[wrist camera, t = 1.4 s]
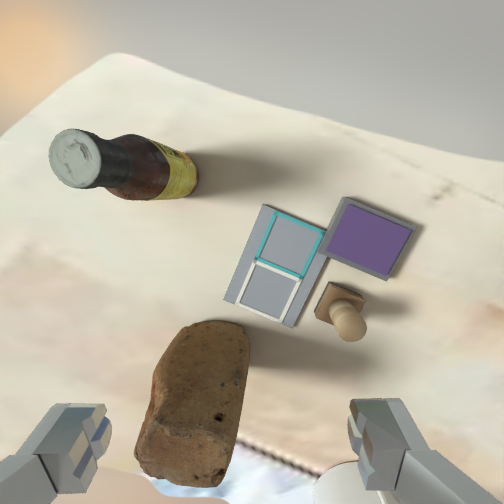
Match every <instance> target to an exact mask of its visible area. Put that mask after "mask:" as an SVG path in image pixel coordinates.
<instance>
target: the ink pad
mask: <svg viewBox="0 0 504 504" xmlns="http://www.w3.org/2000/svg"><path fill="white" fill-rule="evenodd" d="M416 228H417V227H415V226H413V225H411V224H408V223H406V222H404V221H401V220H399V219H396V218H394V217H392V216H389V215H387V214H385V213H382V212H380V211H378V210H375V209H373V208H370V207H368V206H366V205H363V204H361V203H359V202H356V201H354V200H352V199H349V198H347V197H342V198H341V201H340V203H339V205H338V207H337V209H336V211H335V213H334V215H333V217H332V219H331V222H330V224H329V226H328V228H327V230H326V231H327V233H326V235H325V237H324V239H323V241H322V243H321V246H320V248H319V250H318V253H320V254H323V255H325V256H327V257H330V258H332V259H334V260H337V261H339V262H342V263H344V264H346V265H349V266H351V267H353V268H356V269H358V270H361V271H363V272H365V273H368V274H370V275H373V276H375V277H377V278H380V279H382V280H384V281H387V280H388V278H389V277H390V275H391V273H392V271H393V269H394V268H395V266H396V264H397V262H398V260H399V259H400V257H401V255H402V253H403V251H404V250H405V248H406V246H407V244H408V242H409V240H410V239H411V237H412V235H413V233H414V231H415V230H416Z"/></svg>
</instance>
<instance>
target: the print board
mask: <svg viewBox="0 0 504 504" xmlns="http://www.w3.org/2000/svg"><path fill="white" fill-rule="evenodd" d="M326 233H327V231H325V230H323V229H321V228H318V227H316V226H313V225H311V224H309V223H306V222H304V221H302V220H299V219H297V218H294V217H292V216H290V215H287V214H285V213H283V212H280V211H278V210H275V209H273V208H271V207H268V206H266V205H264V204H263V205H262V208H261V210H260V212H259V215H258V217H257V220H256V222H255V224H254V227H253V229H252V232H251V234H250V236H249V239H248V241H247V244H246V246H245V249H244V251H243V253H242V256H241V258H240V261H239V263H238V265H237V268H236V270H235V273H234V275H233V278H232V280H231V282H230V285H229V287H228V290H227V292H226V294H225V297H224V299H223V300H225V301H227V302H230V303H232V304H234V305H237V306H239V307H242V308H244V309H246V310H249V311H251V312H254V313H256V314H258V315H261V316H263V317H266V318H268V319H270V320H273V321H275V322H278V323H280V324H282V325H285V326H287V327H290V328H292V327H293V325H294V323H295V321H296V319H297V317H298V315H299V313H300V311H301V309H302V307H303V305H304V303H305V301H306V299H307V297H308V295H309V293H310V291H311V289H312V287H313V285H314V282H315V280H316V278H317V276H318V274H319V272H320V270H321V268H322V266H323V264H324V262H325V260H326V258H327V256H325V255H323V254H320V253H318V250H319V248H320V246H321V243H322V241H323V239H324V237H325V235H326Z"/></svg>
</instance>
